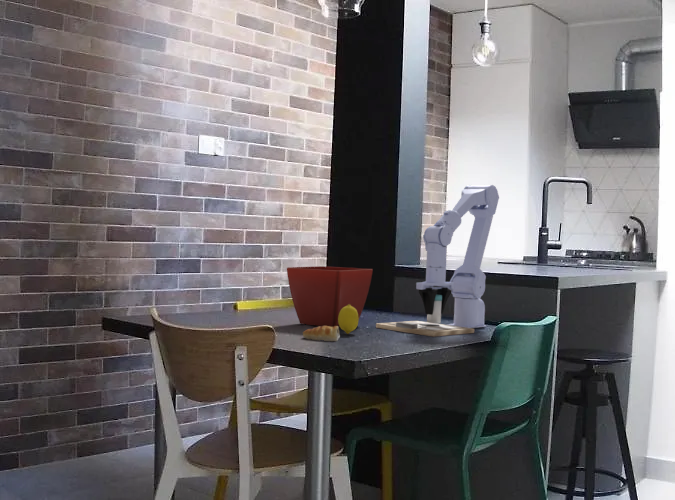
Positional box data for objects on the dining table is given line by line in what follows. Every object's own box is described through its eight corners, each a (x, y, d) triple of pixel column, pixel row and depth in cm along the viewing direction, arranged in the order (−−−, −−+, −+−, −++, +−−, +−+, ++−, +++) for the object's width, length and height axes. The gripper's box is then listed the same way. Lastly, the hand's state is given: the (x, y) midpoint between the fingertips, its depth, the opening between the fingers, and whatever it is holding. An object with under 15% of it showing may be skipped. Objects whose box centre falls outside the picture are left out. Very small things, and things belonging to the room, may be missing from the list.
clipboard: (416, 324, 250) (417, 316, 250) (474, 332, 234) (474, 324, 234) (375, 327, 238) (376, 319, 238) (433, 336, 222) (433, 327, 222)
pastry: (301, 340, 205) (301, 325, 205) (304, 337, 212) (305, 322, 212) (338, 342, 204) (338, 327, 204) (340, 339, 211) (341, 324, 211)
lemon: (356, 335, 217) (357, 305, 217) (335, 334, 218) (336, 304, 218) (359, 333, 223) (360, 304, 223) (339, 332, 224) (341, 303, 224)
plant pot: (282, 323, 239) (284, 266, 238) (319, 319, 255) (321, 265, 254) (337, 330, 228) (339, 270, 228) (372, 325, 244) (374, 269, 244)
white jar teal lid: (432, 321, 240) (434, 294, 240) (443, 322, 237) (445, 295, 237) (423, 321, 237) (424, 294, 237) (434, 323, 234) (435, 295, 234)
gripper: (441, 266, 244) (439, 311, 245) (409, 266, 235) (407, 313, 235) (460, 267, 239) (458, 314, 240) (427, 267, 229) (425, 315, 230)
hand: (434, 313), depth 237 cm, fingers closed on white jar teal lid, 4 cm apart
